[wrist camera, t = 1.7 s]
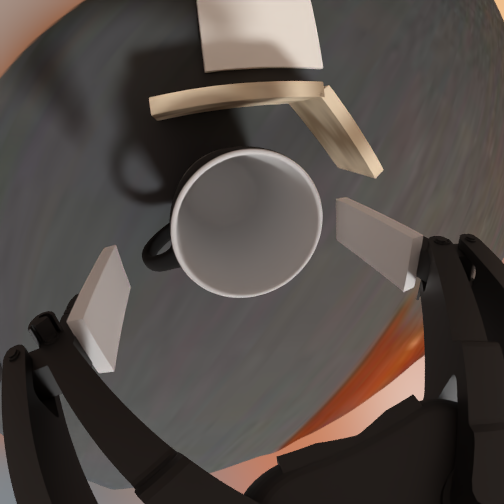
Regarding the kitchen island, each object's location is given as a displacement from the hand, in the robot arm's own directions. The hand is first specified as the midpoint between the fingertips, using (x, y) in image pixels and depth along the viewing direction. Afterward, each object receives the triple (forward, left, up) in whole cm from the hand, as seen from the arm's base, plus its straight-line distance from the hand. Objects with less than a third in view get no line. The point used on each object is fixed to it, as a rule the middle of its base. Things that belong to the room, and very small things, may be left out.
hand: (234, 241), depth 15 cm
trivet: (+7, +17, -10) cm, 21 cm away
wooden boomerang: (+5, +5, -10) cm, 12 cm away
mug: (0, 0, -10) cm, 10 cm away
